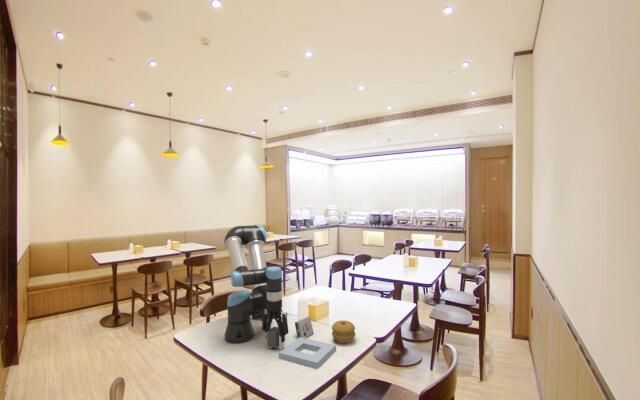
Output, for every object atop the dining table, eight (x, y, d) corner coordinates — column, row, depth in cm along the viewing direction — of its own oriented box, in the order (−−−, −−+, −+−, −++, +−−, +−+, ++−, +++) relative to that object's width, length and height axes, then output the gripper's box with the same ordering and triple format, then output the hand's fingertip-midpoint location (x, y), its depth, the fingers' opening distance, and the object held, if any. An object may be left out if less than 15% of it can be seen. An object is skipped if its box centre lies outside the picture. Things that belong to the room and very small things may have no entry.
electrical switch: (302, 340, 156) (300, 321, 157) (294, 338, 160) (293, 320, 160) (314, 334, 164) (312, 316, 164) (306, 332, 167) (305, 315, 168)
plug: (267, 348, 148) (266, 330, 148) (274, 343, 153) (274, 326, 153) (275, 350, 146) (275, 332, 146) (282, 345, 151) (282, 328, 151)
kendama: (278, 313, 197) (261, 324, 179) (265, 312, 201) (247, 322, 183) (278, 304, 198) (260, 313, 179) (265, 303, 201) (247, 312, 183)
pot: (339, 348, 147) (338, 327, 147) (328, 338, 158) (327, 319, 158) (359, 343, 152) (359, 322, 152) (347, 334, 163) (347, 315, 163)
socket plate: (278, 358, 139) (278, 352, 139) (300, 342, 154) (300, 337, 154) (317, 368, 129) (317, 362, 129) (336, 350, 145) (335, 345, 145)
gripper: (253, 298, 151) (254, 345, 151) (286, 304, 142) (287, 354, 141) (263, 294, 158) (263, 339, 157) (295, 299, 148) (296, 347, 148)
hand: (275, 346), depth 149 cm, fingers open, 7 cm apart
